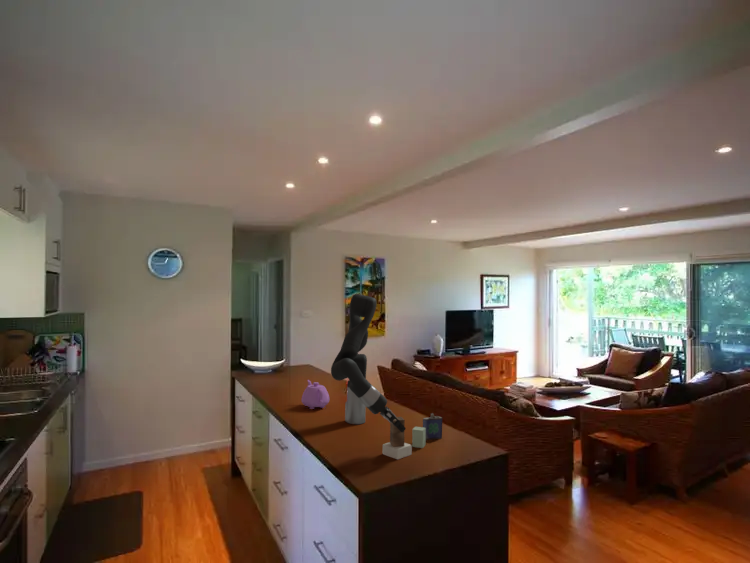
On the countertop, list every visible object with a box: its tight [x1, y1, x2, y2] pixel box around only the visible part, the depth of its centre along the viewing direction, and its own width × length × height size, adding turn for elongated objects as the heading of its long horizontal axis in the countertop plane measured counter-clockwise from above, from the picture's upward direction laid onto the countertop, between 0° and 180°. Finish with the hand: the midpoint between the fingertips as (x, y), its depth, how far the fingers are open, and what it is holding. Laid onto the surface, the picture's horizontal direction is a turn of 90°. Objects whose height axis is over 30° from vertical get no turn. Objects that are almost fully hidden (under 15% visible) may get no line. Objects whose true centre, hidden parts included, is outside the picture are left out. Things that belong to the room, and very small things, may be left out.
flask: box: [422, 412, 443, 441], centre depth 184 cm, size 9×3×11 cm, turn 109°
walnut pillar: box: [389, 416, 406, 447], centre depth 164 cm, size 4×4×10 cm
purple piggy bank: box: [301, 379, 330, 410], centre depth 237 cm, size 22×16×14 cm
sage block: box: [411, 426, 427, 449], centre depth 174 cm, size 4×4×7 cm
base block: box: [382, 441, 413, 460], centre depth 164 cm, size 8×8×4 cm
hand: (400, 427), depth 164 cm, fingers open, 8 cm apart
